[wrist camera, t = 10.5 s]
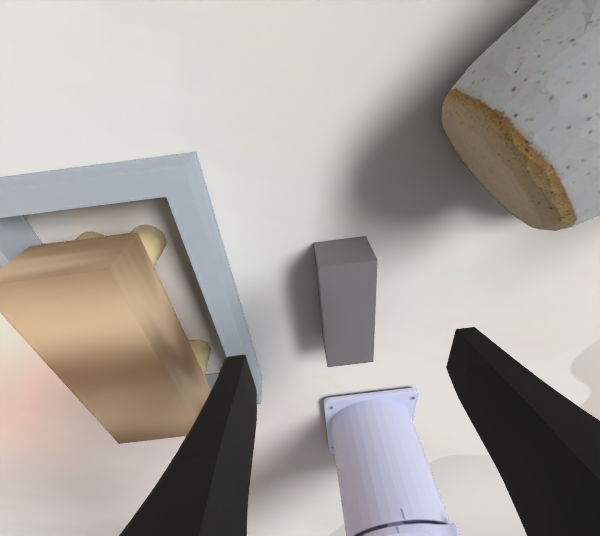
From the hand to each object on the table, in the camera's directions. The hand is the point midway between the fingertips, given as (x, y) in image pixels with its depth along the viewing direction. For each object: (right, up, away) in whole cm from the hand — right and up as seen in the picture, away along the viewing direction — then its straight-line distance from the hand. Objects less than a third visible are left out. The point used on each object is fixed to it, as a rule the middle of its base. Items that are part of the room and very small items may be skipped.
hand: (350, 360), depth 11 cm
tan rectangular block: (-11, 0, +7) cm, 13 cm away
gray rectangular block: (+1, +2, +9) cm, 9 cm away
